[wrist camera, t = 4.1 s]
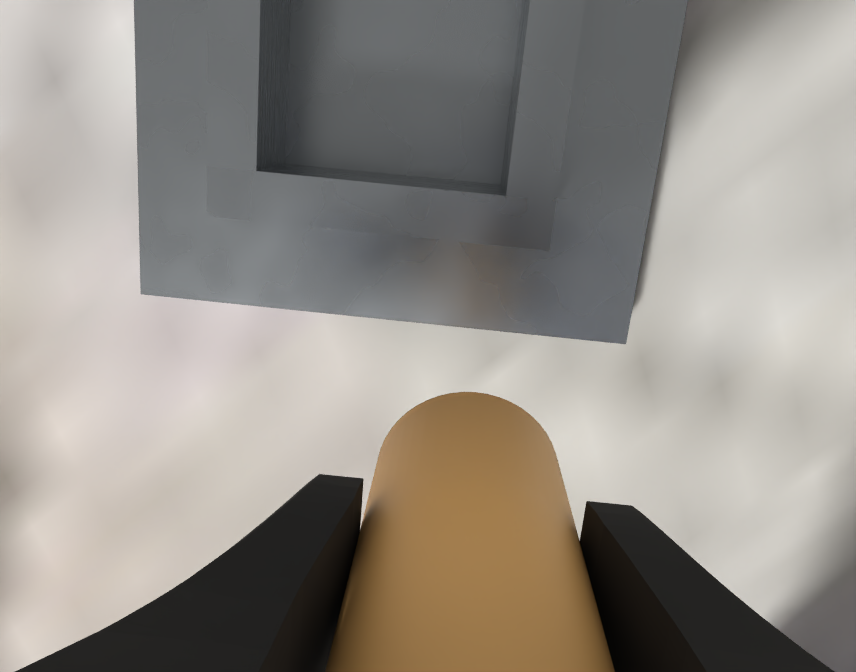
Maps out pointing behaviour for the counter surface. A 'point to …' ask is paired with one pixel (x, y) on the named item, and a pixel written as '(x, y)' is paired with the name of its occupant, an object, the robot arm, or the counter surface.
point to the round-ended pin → (468, 552)
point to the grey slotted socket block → (404, 156)
